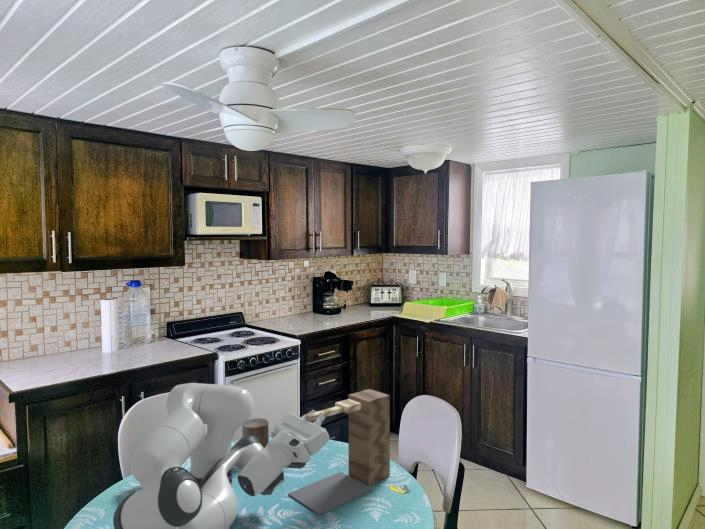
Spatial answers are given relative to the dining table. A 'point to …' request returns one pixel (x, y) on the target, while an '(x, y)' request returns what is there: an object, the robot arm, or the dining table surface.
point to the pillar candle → (257, 430)
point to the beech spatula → (336, 409)
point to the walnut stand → (369, 437)
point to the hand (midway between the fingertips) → (319, 413)
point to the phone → (296, 464)
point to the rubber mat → (330, 492)
